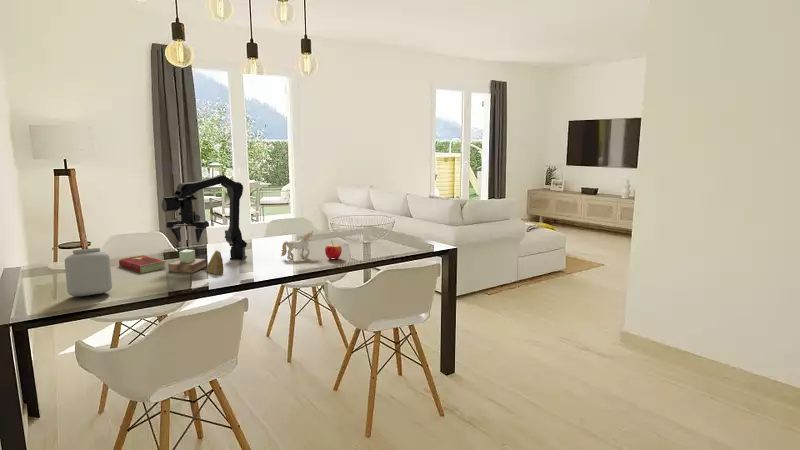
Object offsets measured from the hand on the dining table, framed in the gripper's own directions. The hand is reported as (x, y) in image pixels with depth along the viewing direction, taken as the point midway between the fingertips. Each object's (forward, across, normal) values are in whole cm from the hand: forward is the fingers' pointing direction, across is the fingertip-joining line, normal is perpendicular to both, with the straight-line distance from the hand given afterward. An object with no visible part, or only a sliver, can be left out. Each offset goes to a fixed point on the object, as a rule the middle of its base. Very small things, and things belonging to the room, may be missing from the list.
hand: (189, 241), depth 236 cm
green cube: (+9, -1, +4) cm, 9 cm away
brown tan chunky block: (+12, -17, +9) cm, 23 cm away
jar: (+12, +15, +48) cm, 51 cm away
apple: (+13, -64, -25) cm, 70 cm away
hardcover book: (+13, +22, +4) cm, 26 cm away
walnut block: (+13, -1, +4) cm, 13 cm away
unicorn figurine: (+13, -45, -26) cm, 54 cm away
